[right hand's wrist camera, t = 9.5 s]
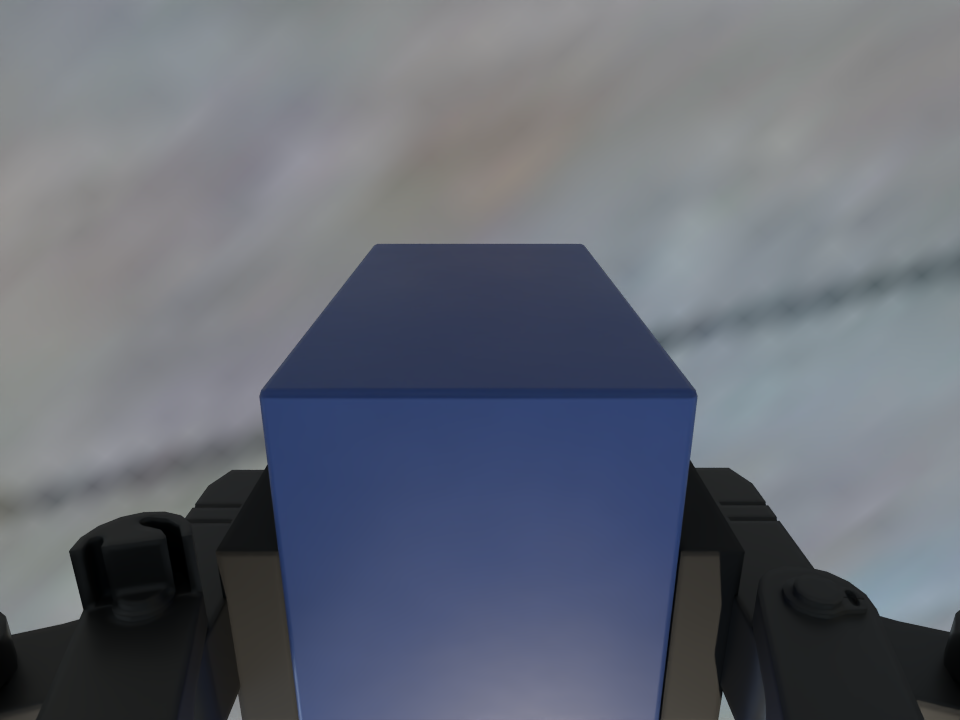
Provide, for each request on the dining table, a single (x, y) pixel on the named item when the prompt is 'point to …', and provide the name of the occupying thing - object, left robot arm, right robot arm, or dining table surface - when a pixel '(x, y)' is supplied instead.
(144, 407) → the dining table surface
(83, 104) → the dining table surface
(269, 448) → the block
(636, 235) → the dining table surface
